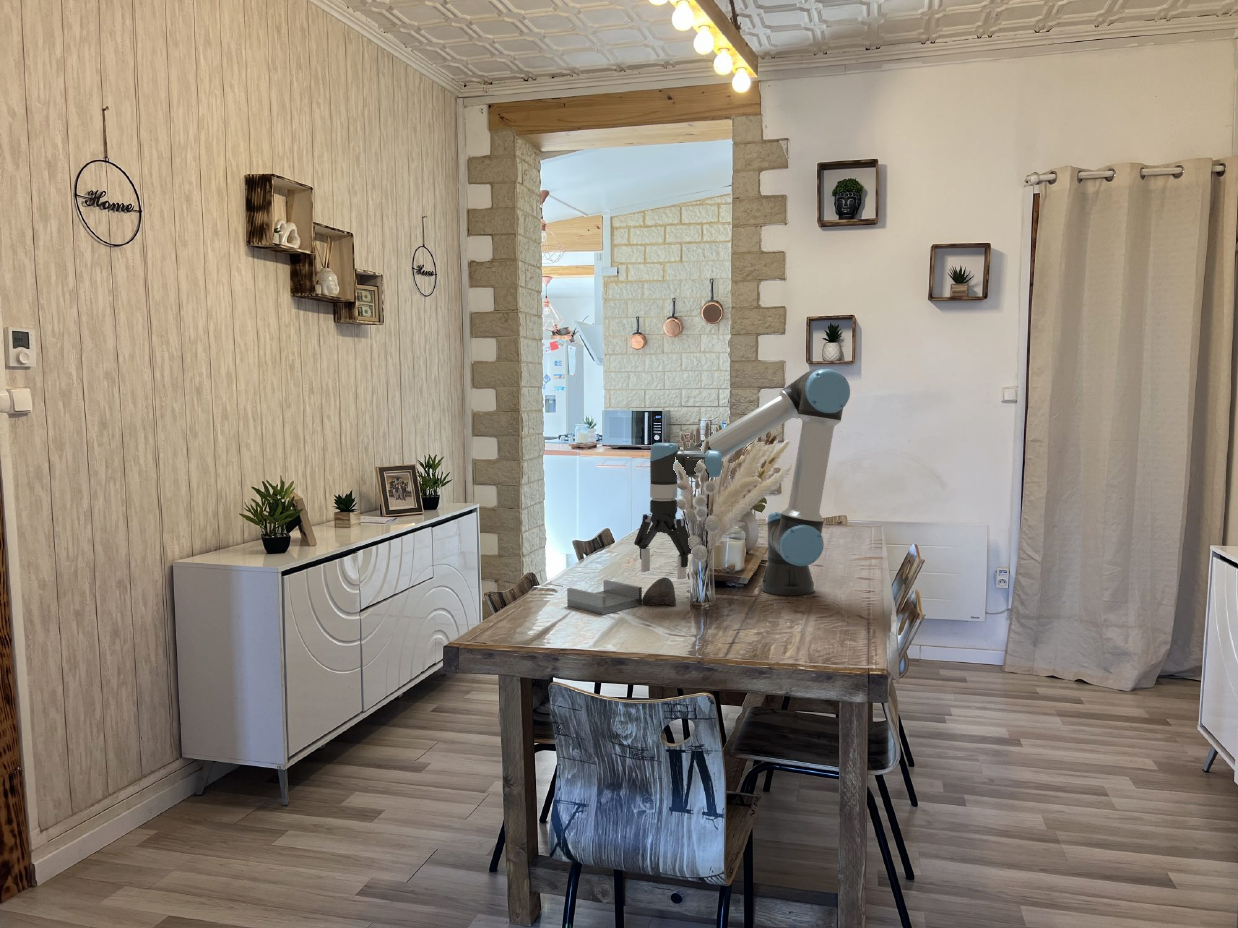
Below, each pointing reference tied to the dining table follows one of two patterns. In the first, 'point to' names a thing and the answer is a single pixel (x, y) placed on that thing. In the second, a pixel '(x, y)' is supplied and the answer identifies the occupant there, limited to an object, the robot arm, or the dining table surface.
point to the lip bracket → (606, 598)
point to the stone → (660, 593)
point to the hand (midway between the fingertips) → (663, 575)
